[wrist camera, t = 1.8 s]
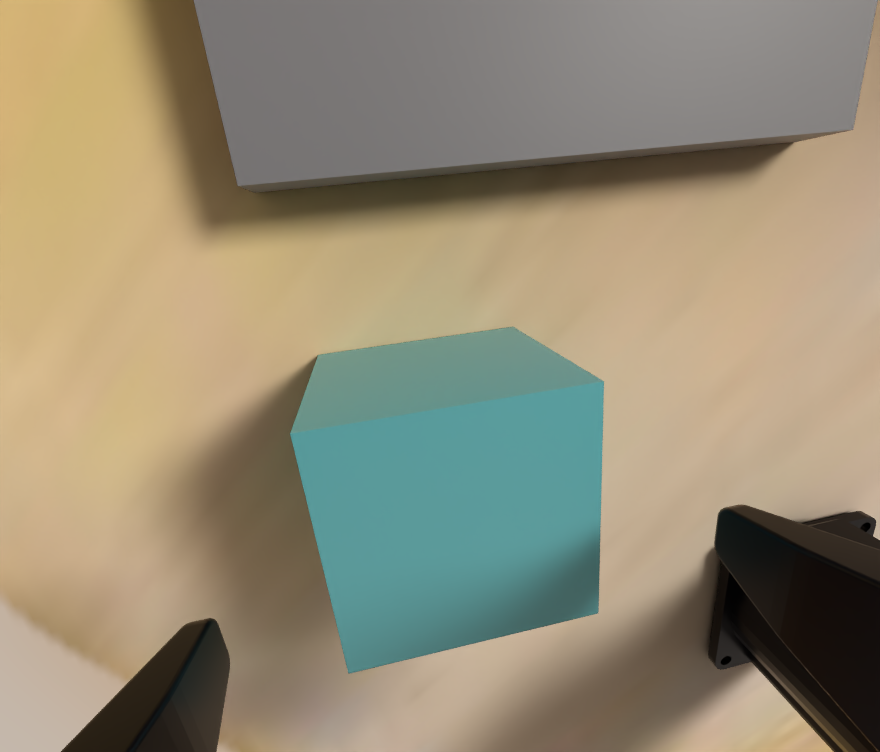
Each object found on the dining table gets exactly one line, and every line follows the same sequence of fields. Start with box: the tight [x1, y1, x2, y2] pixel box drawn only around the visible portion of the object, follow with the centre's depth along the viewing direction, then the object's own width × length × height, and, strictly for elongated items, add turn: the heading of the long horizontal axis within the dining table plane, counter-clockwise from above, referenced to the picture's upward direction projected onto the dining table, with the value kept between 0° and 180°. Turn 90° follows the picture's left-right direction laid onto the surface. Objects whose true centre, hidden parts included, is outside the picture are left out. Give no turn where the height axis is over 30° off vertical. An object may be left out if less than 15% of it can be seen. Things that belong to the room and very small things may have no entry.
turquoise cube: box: [290, 327, 604, 673], centre depth 11 cm, size 6×6×5 cm
